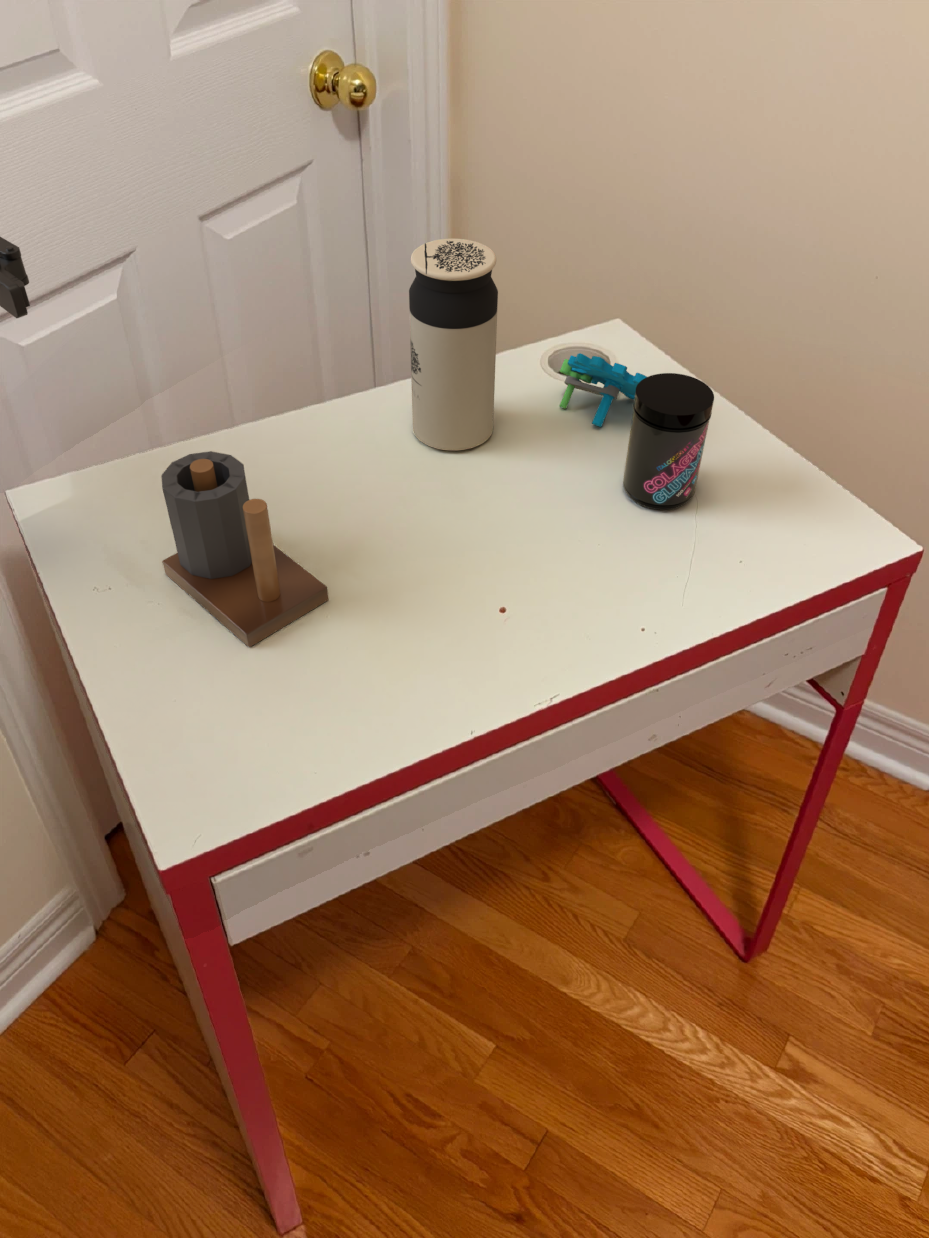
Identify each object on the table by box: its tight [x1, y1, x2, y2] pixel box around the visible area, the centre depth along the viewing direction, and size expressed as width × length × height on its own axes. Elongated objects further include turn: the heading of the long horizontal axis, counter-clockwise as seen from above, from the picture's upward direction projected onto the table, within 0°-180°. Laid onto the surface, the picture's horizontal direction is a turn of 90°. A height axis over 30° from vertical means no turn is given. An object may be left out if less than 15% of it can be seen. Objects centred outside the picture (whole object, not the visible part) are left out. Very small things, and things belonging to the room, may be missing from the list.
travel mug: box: [408, 238, 499, 451], centre depth 98 cm, size 8×8×18 cm
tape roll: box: [160, 450, 252, 579], centre depth 85 cm, size 6×6×8 cm
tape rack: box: [161, 459, 329, 648], centre depth 84 cm, size 12×8×10 cm, turn 44°
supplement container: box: [622, 372, 715, 511], centre depth 94 cm, size 7×7×10 cm
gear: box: [559, 352, 648, 428], centre depth 104 cm, size 11×6×10 cm
